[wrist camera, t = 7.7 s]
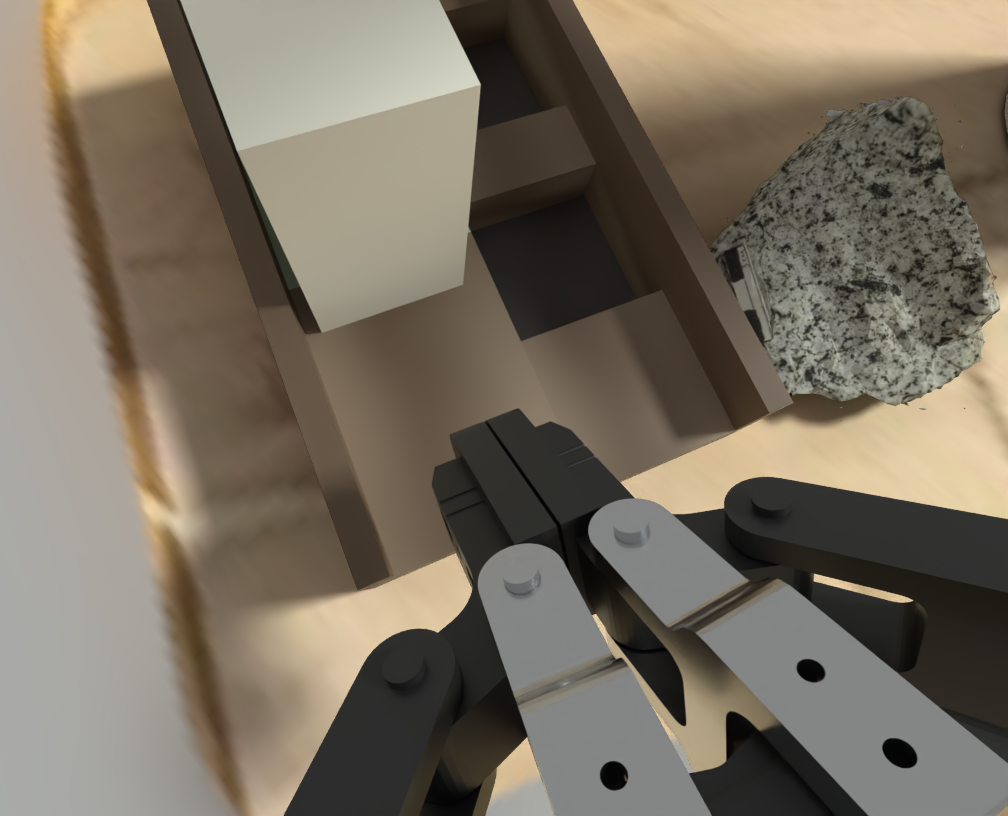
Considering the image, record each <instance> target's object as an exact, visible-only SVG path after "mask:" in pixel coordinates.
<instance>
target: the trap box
mask: <svg viewBox="0 0 1008 816" xmlns="http://www.w3.org/2000/svg"><path fill="white" fill-rule="evenodd" d="M439 1H440V3H441V5H442V7H443V9H444V11H445V13H446V15H447V17H448V19H449V21H450V23H451V25H452V27H453V29H454V31H455V33H456V35H457V38H458V40H459V42H460V44H461V46H462V48H463V50H464V52H465V54H466V56H467V58H468V60H469V62H470V64H471V66H472V68H473V70H474V72H475V74H476V76H477V78H478V80H479V82H480V84H481V88H480V99H479V110H478V122H477V133H476V144H475V156H474V167H473V178H472V189H471V201H470V212H469V223H468V234H467V246H466V257H465V268H464V280H463V285H461V286H458V287H455V288H452V289H449V290H446V291H443V292H440V293H437V294H434V295H431V296H428V297H426V298H423V299H420V300H417V301H414V302H411V303H408V304H405V305H402V306H399V307H396V308H393V309H390V310H387V311H385V312H382V313H379V314H376V315H373V316H370V317H367V318H364V319H361V320H358V321H355V322H352V323H349V324H346V325H344V326H341V327H338V328H335V329H332V330H329V331H326V332H323V333H322V332H321V330H320V328H319V325H318V323H317V321H316V319H315V317H314V315H313V313H312V310H311V308H310V306H309V304H308V302H307V300H306V298H305V295H304V293H303V291H302V289H301V287H300V285H299V283H298V280H297V278H296V276H295V274H294V272H293V270H292V268H291V265H290V263H289V261H288V259H287V257H286V255H285V253H284V250H283V248H282V246H281V244H280V242H279V240H278V238H277V235H276V233H275V231H274V229H273V227H272V225H271V223H270V220H269V218H268V216H267V214H266V212H265V210H264V207H263V205H262V203H261V201H260V199H259V197H258V195H257V192H256V190H255V188H254V186H253V184H252V182H251V180H250V177H249V175H248V173H247V171H246V169H245V167H244V165H243V162H242V160H241V158H240V156H239V154H238V152H237V149H236V147H235V144H234V141H233V139H232V136H231V133H230V131H229V128H228V125H227V123H226V120H225V117H224V115H223V112H222V110H221V107H220V104H219V102H218V99H217V96H216V94H215V91H214V88H213V86H212V83H211V80H210V78H209V75H208V72H207V70H206V67H205V64H204V62H203V59H202V56H201V54H200V51H199V49H198V46H197V43H196V41H195V38H194V35H193V33H192V30H191V27H190V25H189V22H188V19H187V17H186V14H185V11H184V9H183V6H182V3H181V1H180V0H147V2H148V5H149V8H150V11H151V13H152V16H153V19H154V22H155V25H156V27H157V30H158V33H159V36H160V39H161V41H162V44H163V47H164V50H165V53H166V55H167V58H168V61H169V64H170V67H171V69H172V72H173V75H174V78H175V81H176V83H177V86H178V89H179V92H180V95H181V97H182V100H183V103H184V106H185V109H186V111H187V114H188V117H189V120H190V123H191V125H192V128H193V131H194V134H195V137H196V139H197V142H198V145H199V148H200V151H201V153H202V156H203V159H204V162H205V165H206V167H207V170H208V173H209V176H210V178H211V181H212V184H213V187H214V190H215V192H216V195H217V198H218V201H219V204H220V206H221V209H222V212H223V215H224V218H225V220H226V223H227V226H228V229H229V232H230V234H231V237H232V240H233V243H234V246H235V248H236V251H237V254H238V257H239V260H240V262H241V265H242V268H243V271H244V274H245V276H246V279H247V282H248V285H249V288H250V290H251V293H252V296H253V299H254V302H255V304H256V307H257V310H258V313H259V316H260V318H261V321H262V324H263V327H264V330H265V332H266V335H267V338H268V341H269V344H270V346H271V349H272V352H273V355H274V358H275V360H276V363H277V366H278V369H279V372H280V374H281V377H282V380H283V383H284V386H285V388H286V391H287V394H288V397H289V400H290V402H291V405H292V408H293V411H294V414H295V416H296V419H297V422H298V425H299V428H300V430H301V433H302V436H303V439H304V442H305V444H306V447H307V450H308V453H309V456H310V458H311V461H312V464H313V467H314V470H315V472H316V475H317V478H318V481H319V484H320V486H321V489H322V492H323V495H324V498H325V500H326V503H327V506H328V509H329V512H330V514H331V517H332V520H333V523H334V526H335V528H336V531H337V534H338V537H339V540H340V542H341V545H342V548H343V551H344V554H345V556H346V559H347V562H348V565H349V568H350V570H351V573H352V576H353V579H354V582H355V584H356V587H357V590H364V589H371V588H376V587H378V586H380V585H383V584H385V583H387V582H390V581H392V580H394V579H396V578H399V577H401V576H403V575H406V574H408V573H410V572H413V571H415V570H417V569H420V568H422V567H424V566H427V565H429V564H431V563H434V562H436V561H438V560H441V559H443V558H445V557H447V556H450V555H452V554H454V553H456V551H455V549H454V547H453V545H452V542H451V540H450V537H449V534H448V532H447V529H446V526H445V523H444V520H443V517H442V514H441V511H440V508H439V505H438V503H437V500H436V497H435V494H434V491H433V488H432V480H433V474H434V469H435V466H438V465H441V464H443V463H446V462H448V461H451V460H453V459H456V457H455V454H454V450H453V447H452V444H451V440H450V434H452V433H454V432H457V431H460V430H462V429H465V428H468V427H470V426H473V425H475V424H478V423H481V422H484V423H485V421H486V420H488V419H491V418H493V417H496V416H498V415H501V414H504V413H506V412H509V411H512V410H514V409H517V408H519V409H520V410H521V411H522V412H523V413H524V414H525V416H526V417H527V418H528V419H529V420H530V422H531V423H532V424H533V425H534V426H535V427H537V426H540V425H542V424H545V423H547V422H550V421H551V422H554V423H556V424H559V425H561V426H563V427H566V428H568V429H571V430H572V431H573V432H574V433H575V435H576V436H577V437H578V438H579V439H580V440H581V441H582V442H583V443H584V446H587V447H588V449H589V450H590V451H591V452H592V453H593V454H594V456H595V458H598V459H599V460H600V461H601V462H602V464H603V465H604V466H605V467H606V468H607V469H608V470H609V471H610V472H611V473H612V474H613V475H614V476H615V478H616V479H617V480H618V481H619V482H621V481H624V480H626V479H628V478H631V477H633V476H635V475H638V474H640V473H642V472H644V471H647V470H649V469H651V468H654V467H656V466H658V465H661V464H663V463H665V462H668V461H670V460H672V459H675V458H677V457H679V456H682V455H684V454H686V453H689V452H691V451H693V450H695V449H698V448H700V447H702V446H705V445H707V444H709V443H712V442H714V441H716V440H719V439H721V438H723V437H726V436H728V435H730V434H732V433H734V432H736V431H738V430H740V429H742V428H744V427H746V426H748V425H750V424H752V423H754V422H756V421H758V420H760V419H762V418H764V417H766V416H768V415H770V414H772V413H774V412H776V411H778V410H781V409H783V408H785V407H787V406H789V405H791V404H793V401H792V399H791V397H790V395H789V393H788V392H787V390H786V388H785V386H784V384H783V383H782V381H781V379H780V377H779V375H778V373H777V372H776V370H775V368H774V366H773V364H772V363H771V361H770V359H769V357H768V355H767V353H766V352H765V350H764V348H763V346H762V344H761V342H760V341H759V339H758V337H757V335H756V333H755V332H754V330H753V328H752V326H751V324H750V322H749V321H748V319H747V317H746V315H745V313H744V312H743V310H742V308H741V306H740V304H739V302H738V301H737V299H736V297H735V295H734V293H733V291H732V290H731V288H730V286H729V284H728V282H727V281H726V279H725V277H724V275H723V273H722V271H721V270H720V268H719V266H718V264H717V262H716V261H715V259H714V257H713V255H712V253H711V251H710V250H709V248H708V246H707V244H706V242H705V240H704V239H703V237H702V235H701V233H700V231H699V230H698V228H697V226H696V224H695V222H694V220H693V219H692V217H691V215H690V213H689V211H688V210H687V208H686V206H685V204H684V202H683V200H682V199H681V197H680V195H679V193H678V191H677V189H676V188H675V186H674V184H673V182H672V180H671V179H670V177H669V175H668V173H667V171H666V169H665V168H664V166H663V164H662V162H661V160H660V159H659V157H658V155H657V153H656V151H655V149H654V148H653V146H652V144H651V142H650V140H649V138H648V137H647V135H646V133H645V131H644V129H643V128H642V126H641V124H640V122H639V120H638V118H637V117H636V115H635V113H634V111H633V109H632V108H631V106H630V104H629V102H628V100H627V98H626V97H625V95H624V93H623V91H622V89H621V87H620V86H619V84H618V82H617V80H616V78H615V77H614V75H613V73H612V71H611V69H610V67H609V66H608V64H607V62H606V60H605V58H604V57H603V55H602V53H601V51H600V49H599V47H598V46H597V44H596V42H595V40H594V38H593V36H592V35H591V33H590V31H589V29H588V27H587V26H586V24H585V22H584V20H583V18H582V16H581V15H580V13H579V11H578V9H577V7H576V6H575V4H574V2H573V0H439Z"/></svg>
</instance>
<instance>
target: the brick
mask: <svg viewBox="0 0 1008 816" xmlns="http://www.w3.org/2000/svg"><path fill="white" fill-rule="evenodd" d="M180 1H181V3H182V6H183V9H184V11H185V14H186V17H187V19H188V22H189V25H190V27H191V30H192V33H193V35H194V38H195V41H196V43H197V46H198V49H199V51H200V54H201V56H202V59H203V62H204V64H205V67H206V70H207V72H208V75H209V78H210V80H211V83H212V86H213V88H214V91H215V94H216V96H217V99H218V102H219V104H220V107H221V110H222V112H223V115H224V117H225V120H226V123H227V125H228V128H229V131H230V133H231V136H232V139H233V141H234V144H235V147H236V149H237V152H238V154H239V156H240V158H241V160H242V162H243V165H244V167H245V169H246V171H247V173H248V175H249V177H250V180H251V182H252V184H253V186H254V188H255V190H256V192H257V195H258V197H259V199H260V201H261V203H262V205H263V207H264V210H265V212H266V214H267V216H268V218H269V220H270V223H271V225H272V227H273V229H274V231H275V233H276V235H277V238H278V240H279V242H280V244H281V246H282V248H283V250H284V253H285V255H286V257H287V259H288V261H289V263H290V265H291V268H292V270H293V272H294V274H295V276H296V278H297V280H298V283H299V285H300V287H301V289H302V291H303V293H304V295H305V298H306V300H307V302H308V304H309V306H310V308H311V310H312V313H313V315H314V317H315V319H316V321H317V323H318V325H319V328H320V330H321V332H322V333H323V332H326V331H329V330H332V329H335V328H338V327H341V326H344V325H346V324H349V323H352V322H355V321H358V320H361V319H364V318H367V317H370V316H373V315H376V314H379V313H382V312H385V311H387V310H390V309H393V308H396V307H399V306H402V305H405V304H408V303H411V302H414V301H417V300H420V299H423V298H426V297H428V296H431V295H434V294H437V293H440V292H443V291H446V290H449V289H452V288H455V287H458V286H461V285H463V280H464V268H465V257H466V246H467V234H468V223H469V212H470V201H471V189H472V178H473V167H474V156H475V144H476V133H477V122H478V110H479V99H480V88H481V84H480V82H479V80H478V78H477V76H476V74H475V72H474V70H473V68H472V66H471V64H470V62H469V60H468V58H467V56H466V54H465V52H464V50H463V48H462V46H461V44H460V42H459V40H458V38H457V35H456V33H455V31H454V29H453V27H452V25H451V23H450V21H449V19H448V17H447V15H446V13H445V11H444V9H443V7H442V5H441V3H440V1H439V0H180Z"/></svg>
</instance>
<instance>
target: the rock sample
mask: <svg viewBox="0 0 1008 816" xmlns="http://www.w3.org/2000/svg"><path fill="white" fill-rule="evenodd" d="M860 104H861V108H860V110H858V111H856V112H848V111H847V110H844V109H843V110H842V111H836V110H830V109H829V110H828V112H827V114H826V115H827V116H829V118H830V121H828V122H826V126H825V128H824V129H823V130H822V132H821V133H820V134H819V135H817V136H815V137H813V138H812V139H810V140H808V141H807V142H805V143H804V144H802V145H801V146H800V147H799V148H798V150H797V151H795V152H794V153H793V154H792V155H791V156H790V157H789V159H788V160H787V161H785V162H784V163H782V164H781V166H780V167H779V169H778V170H777V171H776V173H775V174H774V175H773V177H772V178H770V179H768V180H766V181H764V182H762V183H761V184H760V185H759V187H758V189H757V191H756V193H755V194H754V196H753V197H752V199H751V201H750V202H749V204H748V205H747V207H746V208H745V209H744V210H743V211H742V213H741V214H740V215H739V216H738V217H737V219H736V220H735V221H734V222H733V223H732V224H730V225H729V226H728V227H726V228H724V229H723V231H722V232H721V234H720V235H719V236H718V237H717V238H716V240H715V241H714V242H713V243H712V245H711V247H710V249H709V250H710V251H711V253H712V255H713V257H714V259H715V261H716V262H717V264H718V266H719V268H720V270H721V271H722V273H723V275H724V277H725V279H726V281H727V282H728V284H729V286H730V288H731V290H732V291H733V293H734V295H735V297H736V299H737V301H738V302H739V304H740V306H741V308H742V310H743V312H744V313H745V315H746V317H747V319H748V321H749V322H750V324H751V326H752V328H753V330H754V332H755V333H756V335H757V337H758V339H759V341H760V342H761V344H762V346H763V348H764V350H765V352H766V353H767V355H768V357H769V359H770V361H771V363H772V364H773V366H774V368H775V370H776V372H777V373H778V375H779V377H780V379H781V381H782V383H783V384H784V386H785V388H786V390H787V392H788V393H789V395H790V396H793V395H796V394H811V393H814V394H820V395H822V396H825V397H827V398H829V399H832V400H837V401H846V400H851V399H854V398H856V397H859V396H861V395H864V394H866V395H869V396H871V397H874V398H876V399H878V400H880V401H883V402H885V403H887V404H890V405H893V406H896V405H899V404H900V403H901V404H905V405H908V404H907V403H906V402H910V401H912V400H914V399H916V398H921V397H922V396H924V395H925V394H926V393H930V392H932V391H933V390H934V389H936V388H937V389H941V388H942V386H943V385H944V384H946V383H949V382H951V381H952V380H953V379H954V378H955V377H958V376H959V374H960V373H961V371H963V370H966V369H968V368H970V367H971V366H972V365H973V364H975V363H976V362H980V359H981V349H982V347H983V344H984V340H983V334H982V326H983V325H984V324H985V323H986V322H987V321H988V320H990V319H991V318H992V315H993V314H995V313H996V312H998V311H999V310H1000V304H999V298H998V296H997V293H996V291H995V288H994V284H993V281H994V280H995V279H996V278H997V277H996V276H995V275H993V273H992V271H991V268H990V266H989V264H988V261H987V259H986V254H985V252H984V250H983V242H982V239H981V237H980V234H979V232H978V224H977V223H975V222H974V219H973V217H972V214H971V212H970V210H969V207H968V204H967V203H966V202H965V201H966V199H963V198H960V196H959V195H958V194H957V192H956V190H955V188H954V185H953V183H952V178H951V177H950V176H948V175H946V173H945V166H944V158H943V155H942V152H941V149H942V144H943V140H942V138H941V136H940V134H939V131H938V128H937V125H936V121H935V118H934V115H933V113H932V112H931V110H930V108H929V107H928V106H927V105H926V104H924V102H922V101H920V100H918V99H915V98H912V97H904V98H903V97H894V100H893V101H892V102H891V101H890V100H888V101H886V100H884V99H882V100H880V101H878V102H877V103H875V102H874V103H871V104H870V105H869V104H864V103H859V104H858V105H860ZM858 105H857V106H858ZM866 105H867V106H866ZM851 111H853V110H851ZM821 117H822V116H821ZM936 120H937V119H936ZM958 122H960V123H961V120H960V121H958ZM808 134H810V133H808ZM814 135H815V134H814ZM814 135H813V136H814ZM963 147H964V145H963V144H962V145H961V147H960V148H961V149H962V148H963ZM956 149H957V148H956ZM949 153H950V152H949ZM951 162H952V161H951ZM948 173H949V172H948ZM727 219H728V217H727ZM727 221H729V220H727ZM908 406H909V405H908ZM840 408H842V407H840ZM919 409H921V410H926V409H925V408H919ZM964 409H965V408H964ZM841 421H842V420H841Z"/></svg>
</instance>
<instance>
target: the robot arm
mask: <svg viewBox="0 0 1008 816" xmlns="http://www.w3.org/2000/svg"><path fill="white" fill-rule="evenodd" d="M1005 120H1006V128H1007V133H1008V93H1007V95H1006V104H1005ZM450 440H451V444H452V447H453V450H454V454H455V457H456V459H453V460H451V461H448V462H446V463H443V464H441V465H438V466H435V469H434V474H433V480H432V488H433V491H434V494H435V497H436V500H437V503H438V505H439V508H440V511H441V514H442V517H443V520H444V523H445V526H446V529H447V532H448V534H449V537H450V540H451V542H452V545H453V547H454V549H455V551H456V554H457V556H458V558H459V560H460V563H461V565H462V567H463V569H464V572H465V574H466V576H467V578H468V581H469V583H470V585H471V587H472V593H471V596H470V598H469V601H468V603H467V604H466V606H465V608H464V609H463V610H462V612H461V613H460V614H459V615H458V616H457V617H456V618H455V619H454V620H453V621H452V622H451V623H449V624H448V625H447V626H446V627H445V628H443V629H442V630H441V631H440V632H438V633H437V632H435V631H432V630H427V629H410V630H406V631H402V632H400V633H397V634H395V635H393V636H391V637H389V638H388V639H386V640H385V641H383V642H382V643H381V644H379V645H378V646H377V647H376V648H375V649H374V650H373V651H372V652H371V654H370V655H369V656H368V657H367V659H366V661H365V662H364V664H363V666H362V668H361V670H360V671H359V673H358V675H357V677H356V679H355V681H354V683H353V685H352V687H351V689H350V690H349V692H348V694H347V696H346V698H345V700H344V702H343V704H342V706H341V708H340V709H339V711H338V713H337V715H336V717H335V719H334V721H333V723H332V725H331V727H330V728H329V730H328V732H327V734H326V736H325V738H324V740H323V742H322V744H321V746H320V747H319V749H318V751H317V753H316V755H315V757H314V759H313V761H312V763H311V765H310V766H309V768H308V770H307V772H306V774H305V776H304V778H303V780H302V782H301V784H300V785H299V787H298V789H297V791H296V793H295V795H294V797H293V799H292V801H291V803H290V804H289V806H288V808H287V810H286V812H285V814H284V816H485V815H486V811H487V808H488V804H489V801H490V797H491V794H492V790H493V787H494V784H495V779H496V771H497V767H498V766H499V765H500V764H501V763H502V762H503V761H504V760H505V759H506V758H507V757H508V756H509V755H510V754H511V753H512V752H513V751H514V750H515V749H516V748H517V747H518V746H519V745H520V744H521V743H522V742H523V740H524V739H525V738H526V737H527V738H528V741H529V744H530V746H531V749H532V752H533V755H534V758H535V761H536V764H537V767H538V770H539V773H540V776H541V779H542V782H543V785H544V788H545V791H546V793H547V796H548V800H549V802H550V805H551V809H552V811H553V814H554V816H1008V519H1003V518H998V517H992V516H987V515H981V514H976V513H970V512H965V511H959V510H953V509H948V508H942V507H937V506H931V505H926V504H920V503H915V502H909V501H904V500H898V499H892V498H887V497H881V496H876V495H870V494H865V493H859V492H854V491H848V490H843V489H837V488H831V487H826V486H820V485H815V484H809V483H804V482H798V481H793V480H787V479H782V478H774V477H758V478H752V479H748V480H745V481H742V482H740V483H738V484H736V485H735V486H734V487H732V488H731V489H730V490H729V492H728V493H727V495H726V497H725V501H724V508H723V509H717V510H711V511H704V512H698V513H692V514H671V513H670V512H669V511H668V510H667V509H665V508H664V507H662V506H661V505H659V504H657V503H655V502H652V501H649V500H644V499H635V498H634V497H633V496H632V495H631V494H630V493H629V492H628V490H627V489H626V488H625V487H624V486H623V485H622V484H621V483H620V482H619V481H618V480H617V479H616V478H615V476H614V475H613V474H612V473H611V472H610V471H609V470H608V469H607V468H606V467H605V466H604V465H603V464H602V462H601V461H600V460H599V459H598V458H595V456H594V454H593V453H592V452H591V451H590V450H589V449H588V447H587V446H584V443H583V442H582V441H581V440H580V439H579V438H578V437H577V436H576V435H575V433H574V432H573V431H572V430H571V429H568V428H566V427H563V426H561V425H559V424H556V423H554V422H551V421H550V422H547V423H545V424H542V425H540V426H537V427H535V426H534V425H533V424H532V423H531V422H530V420H529V419H528V418H527V417H526V416H525V414H524V413H523V412H522V411H521V410H520V409H519V408H517V409H514V410H512V411H509V412H506V413H504V414H501V415H498V416H496V417H493V418H491V419H488V420H486V421H485V423H484V422H481V423H478V424H475V425H473V426H470V427H468V428H465V429H462V430H460V431H457V432H454V433H452V434H450ZM814 574H818V575H822V576H826V577H830V578H834V579H838V580H842V581H846V582H850V583H854V584H858V585H862V586H866V587H870V588H874V589H878V590H882V591H886V592H890V593H894V594H898V595H902V596H905V597H908V598H910V599H912V600H914V601H912V602H907V603H898V602H892V601H888V600H884V599H880V598H876V597H872V596H869V595H865V594H861V593H857V592H853V591H849V590H845V589H841V588H837V587H833V586H829V585H826V584H822V583H818V582H814ZM594 614H597V616H598V617H599V619H600V620H601V622H602V623H603V625H604V626H605V629H606V635H607V641H608V645H609V647H608V645H607V643H606V641H605V639H604V637H603V635H602V633H601V632H600V630H599V628H598V626H597V624H596V622H595V620H594V618H593V617H592V615H594ZM609 648H610V649H609ZM611 651H612V652H611ZM612 653H613V654H612ZM614 656H615V657H616V658H615V657H614ZM650 703H651V704H650ZM651 705H652V706H653V707H654V709H655V710H656V711H657V713H658V714H659V715H660V717H661V718H662V719H663V721H664V722H665V723H666V725H667V726H668V727H669V729H670V730H671V731H672V732H673V734H674V735H675V737H676V738H677V740H678V741H679V743H680V744H681V746H682V748H683V749H684V751H685V753H686V756H687V758H688V761H689V763H690V766H691V768H692V770H693V772H694V773H688V771H687V770H686V768H685V766H684V764H683V763H682V761H681V759H680V757H679V755H678V753H677V751H676V750H675V748H674V746H673V744H672V742H671V741H670V739H669V737H668V735H667V733H666V731H665V730H664V728H663V726H662V724H661V722H660V720H659V719H658V717H657V715H656V713H655V711H654V710H653V708H652V706H651Z"/></svg>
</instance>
